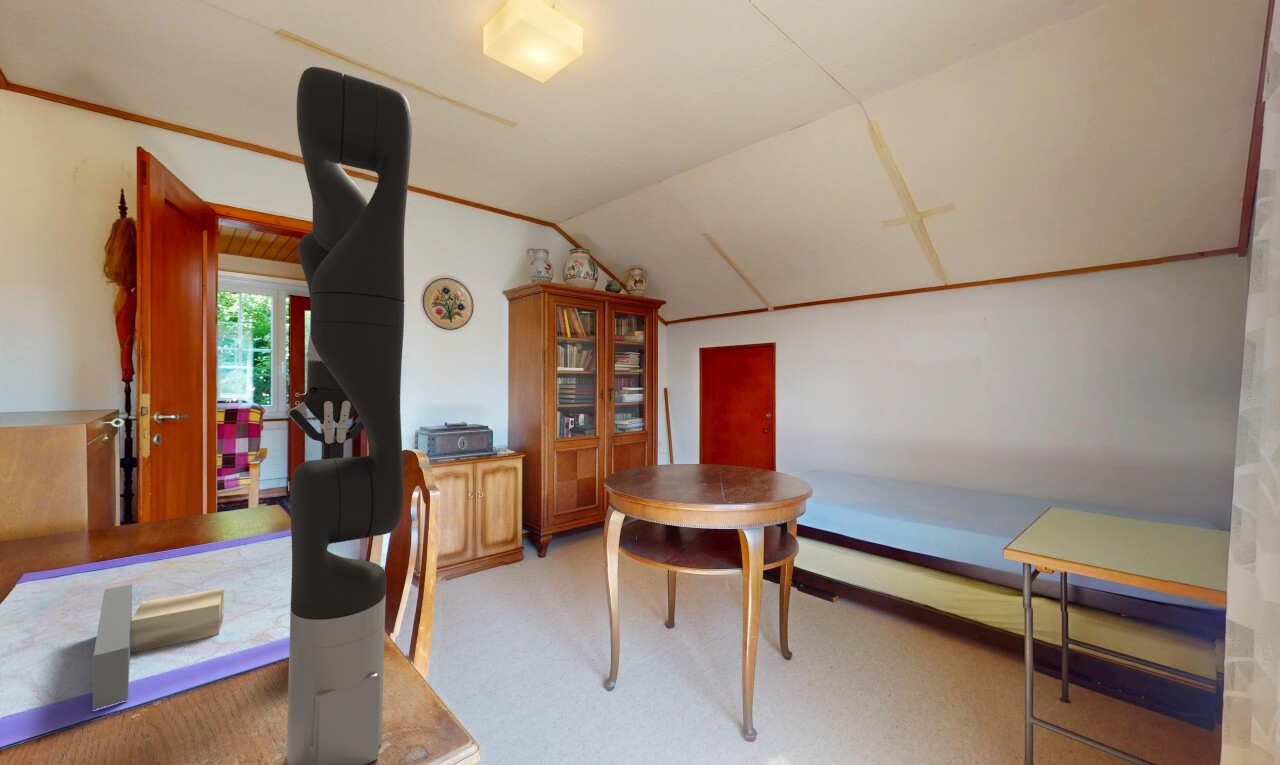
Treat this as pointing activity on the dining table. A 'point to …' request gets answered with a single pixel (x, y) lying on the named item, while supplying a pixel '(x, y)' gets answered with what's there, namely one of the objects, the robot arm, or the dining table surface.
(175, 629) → the birch block
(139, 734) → the dining table surface
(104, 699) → the grey block
